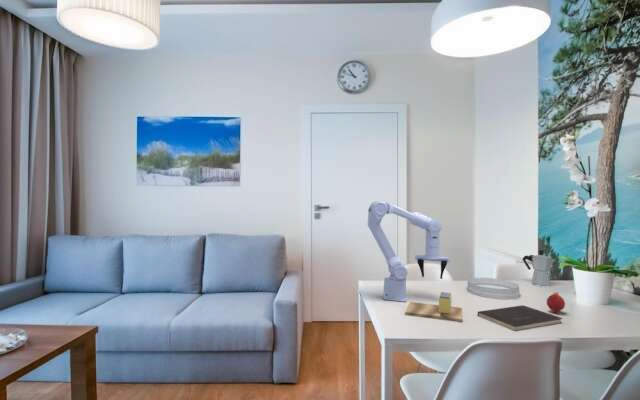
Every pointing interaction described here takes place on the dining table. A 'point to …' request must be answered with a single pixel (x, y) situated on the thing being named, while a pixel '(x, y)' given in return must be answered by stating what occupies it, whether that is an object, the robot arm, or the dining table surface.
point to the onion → (555, 302)
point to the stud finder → (445, 302)
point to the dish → (493, 288)
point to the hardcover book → (519, 317)
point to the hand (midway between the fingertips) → (432, 277)
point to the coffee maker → (540, 268)
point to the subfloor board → (433, 312)
